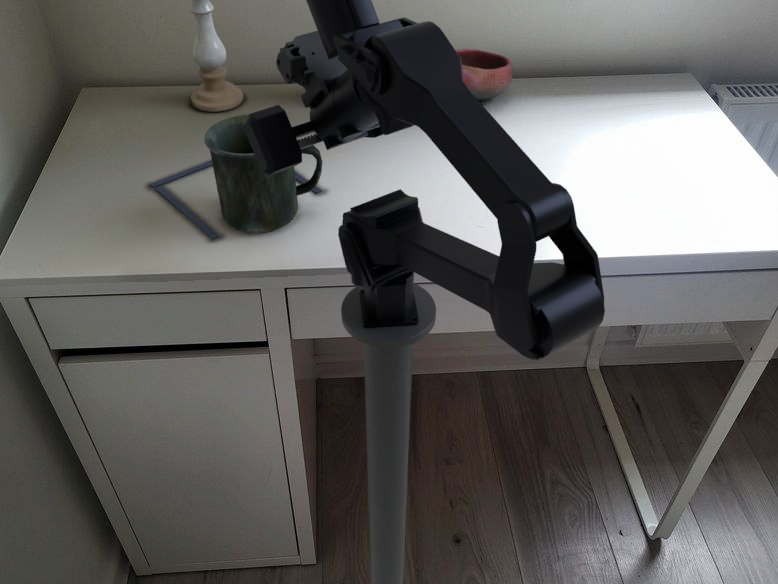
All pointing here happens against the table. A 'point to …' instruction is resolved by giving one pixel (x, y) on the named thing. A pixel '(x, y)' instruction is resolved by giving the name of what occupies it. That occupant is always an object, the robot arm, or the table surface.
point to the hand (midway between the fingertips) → (304, 142)
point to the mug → (253, 181)
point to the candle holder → (211, 64)
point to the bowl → (485, 72)
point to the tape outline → (186, 210)
